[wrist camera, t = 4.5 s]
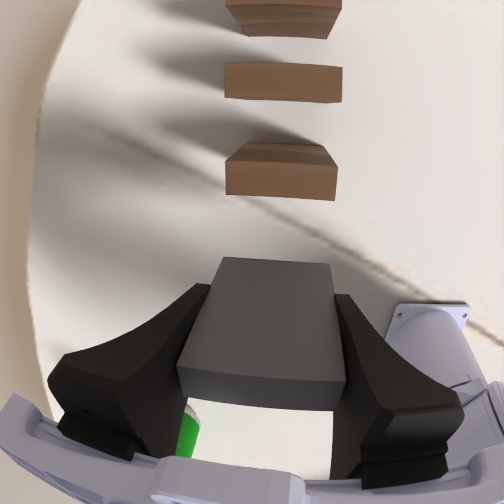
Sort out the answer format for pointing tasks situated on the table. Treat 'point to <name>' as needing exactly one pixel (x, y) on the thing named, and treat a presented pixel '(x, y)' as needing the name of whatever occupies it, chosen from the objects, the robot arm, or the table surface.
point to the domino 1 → (286, 17)
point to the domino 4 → (266, 338)
